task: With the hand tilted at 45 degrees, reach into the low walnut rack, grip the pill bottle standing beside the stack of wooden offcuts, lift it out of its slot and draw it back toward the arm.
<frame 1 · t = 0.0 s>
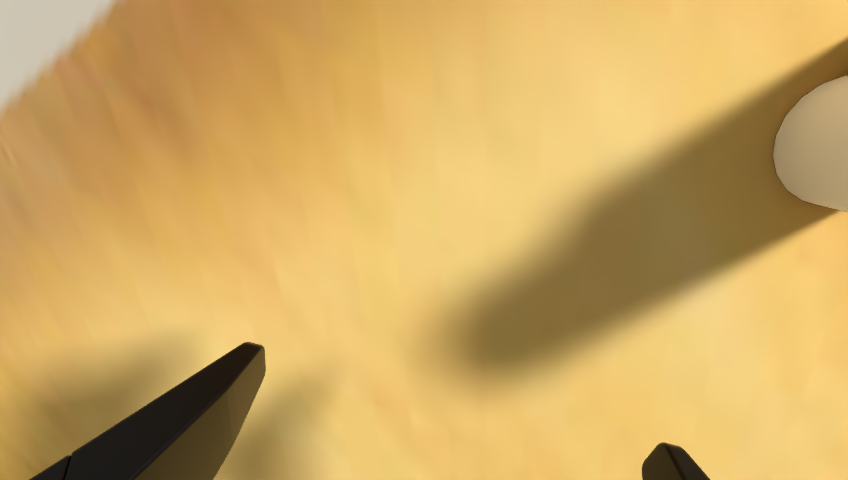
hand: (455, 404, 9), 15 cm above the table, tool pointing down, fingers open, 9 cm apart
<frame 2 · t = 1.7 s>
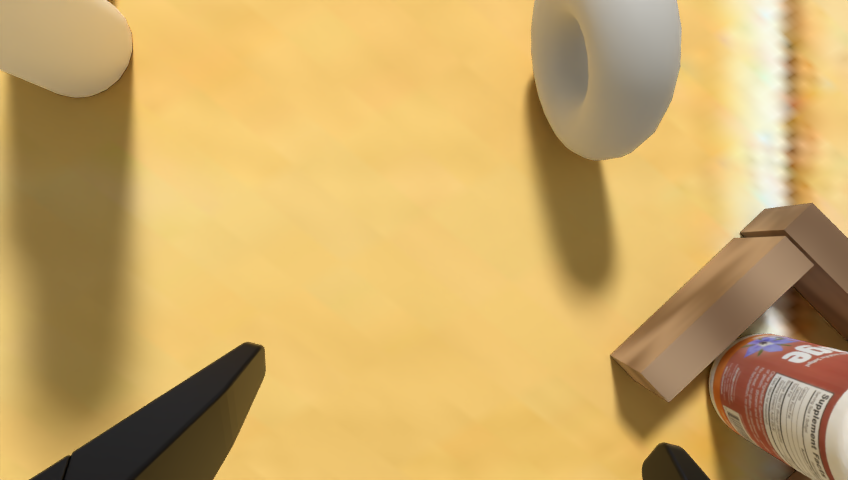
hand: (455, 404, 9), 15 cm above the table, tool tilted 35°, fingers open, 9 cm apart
pill bottle: (754, 383, 24), on the table
vase: (72, 11, 25), on the table
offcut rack: (757, 384, 24), on the table
grey rounded piece: (559, 97, 25), on the table
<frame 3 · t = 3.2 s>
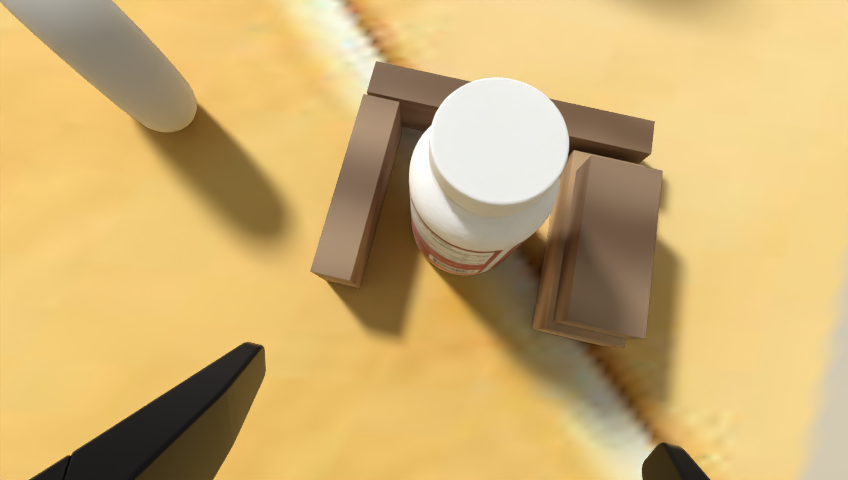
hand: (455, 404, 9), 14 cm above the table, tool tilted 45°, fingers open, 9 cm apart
pill bottle: (462, 226, 24), on the table
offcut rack: (463, 225, 24), on the table
grey rounded piece: (166, 104, 26), on the table
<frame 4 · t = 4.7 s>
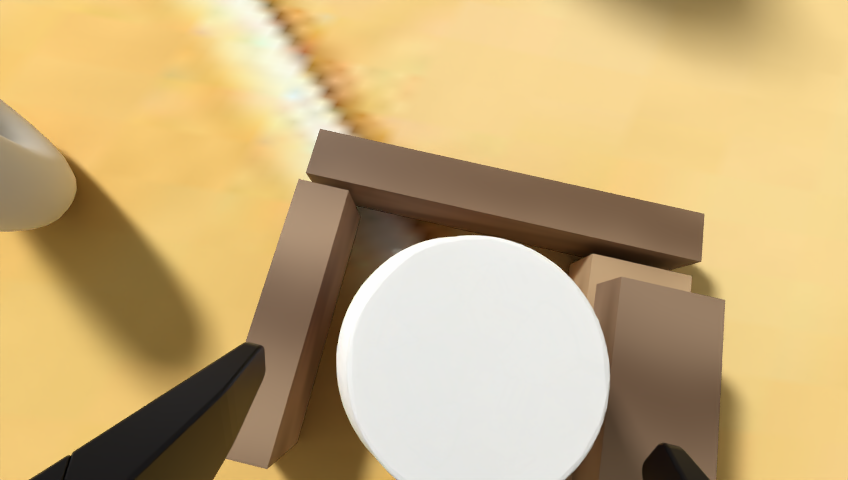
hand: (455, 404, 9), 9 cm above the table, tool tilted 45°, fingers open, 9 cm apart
pill bottle: (441, 348, 18), on the table
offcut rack: (441, 348, 18), on the table
grey rounded piece: (49, 176, 19), on the table
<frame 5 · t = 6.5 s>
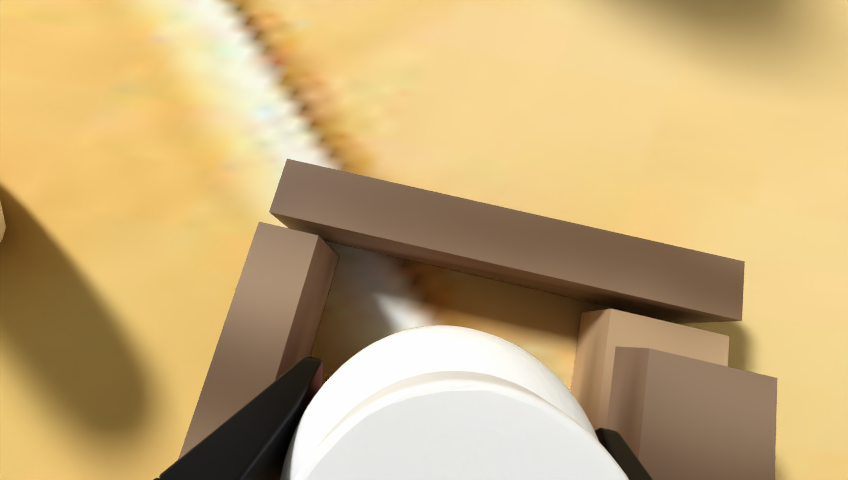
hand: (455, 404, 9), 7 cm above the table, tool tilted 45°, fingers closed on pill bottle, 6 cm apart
pill bottle: (431, 412, 15), on the table, touching gripper
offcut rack: (431, 413, 15), on the table
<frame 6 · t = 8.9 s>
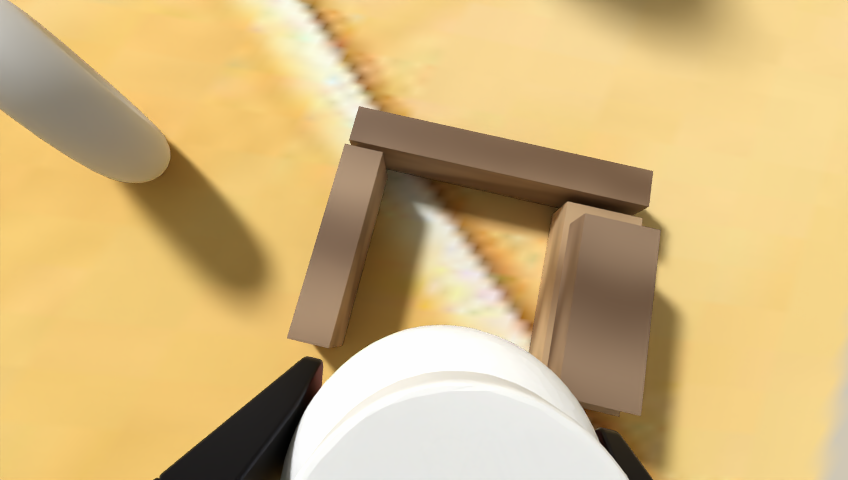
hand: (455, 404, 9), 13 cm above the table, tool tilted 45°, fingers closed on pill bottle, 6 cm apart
pill bottle: (431, 411, 15), point 6 cm above the table, touching gripper
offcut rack: (451, 277, 23), on the table
grey rounded piece: (141, 146, 25), on the table
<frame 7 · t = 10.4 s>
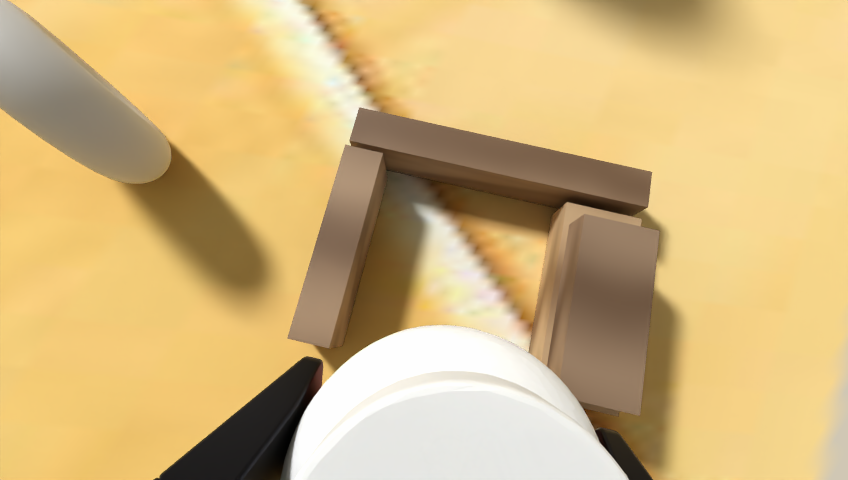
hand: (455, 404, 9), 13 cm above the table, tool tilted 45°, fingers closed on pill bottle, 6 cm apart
pill bottle: (431, 412, 15), point 7 cm above the table, touching gripper
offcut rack: (451, 277, 23), on the table
grey rounded piece: (142, 146, 25), on the table
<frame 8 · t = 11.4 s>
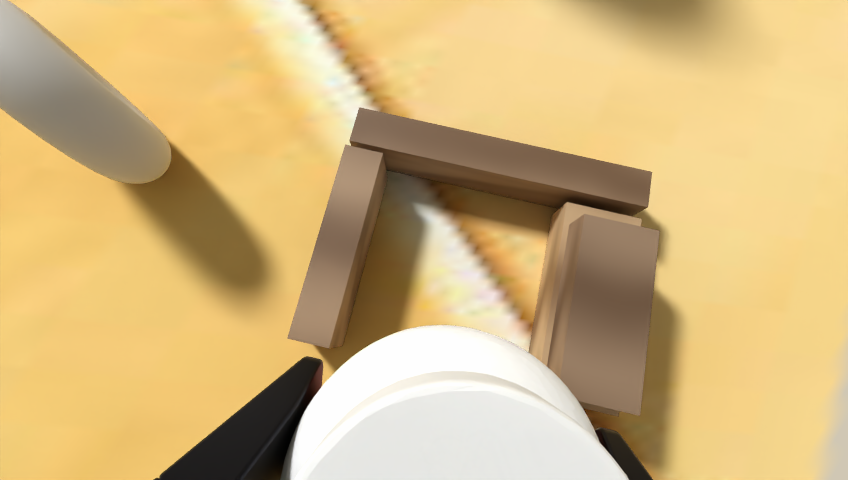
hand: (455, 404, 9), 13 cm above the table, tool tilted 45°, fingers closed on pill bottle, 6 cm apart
pill bottle: (431, 412, 15), point 7 cm above the table, touching gripper
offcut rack: (451, 277, 23), on the table
grey rounded piece: (142, 146, 25), on the table
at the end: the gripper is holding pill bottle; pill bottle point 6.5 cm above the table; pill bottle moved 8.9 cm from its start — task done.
